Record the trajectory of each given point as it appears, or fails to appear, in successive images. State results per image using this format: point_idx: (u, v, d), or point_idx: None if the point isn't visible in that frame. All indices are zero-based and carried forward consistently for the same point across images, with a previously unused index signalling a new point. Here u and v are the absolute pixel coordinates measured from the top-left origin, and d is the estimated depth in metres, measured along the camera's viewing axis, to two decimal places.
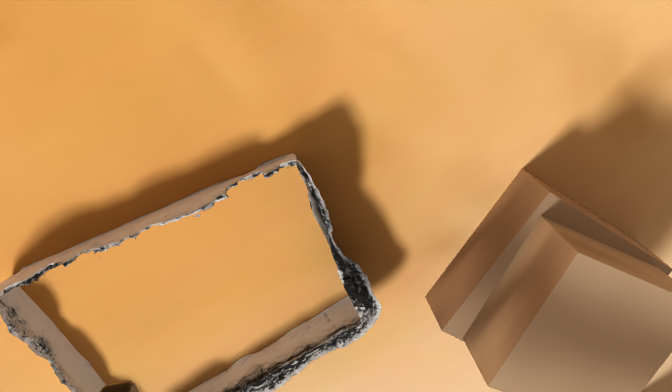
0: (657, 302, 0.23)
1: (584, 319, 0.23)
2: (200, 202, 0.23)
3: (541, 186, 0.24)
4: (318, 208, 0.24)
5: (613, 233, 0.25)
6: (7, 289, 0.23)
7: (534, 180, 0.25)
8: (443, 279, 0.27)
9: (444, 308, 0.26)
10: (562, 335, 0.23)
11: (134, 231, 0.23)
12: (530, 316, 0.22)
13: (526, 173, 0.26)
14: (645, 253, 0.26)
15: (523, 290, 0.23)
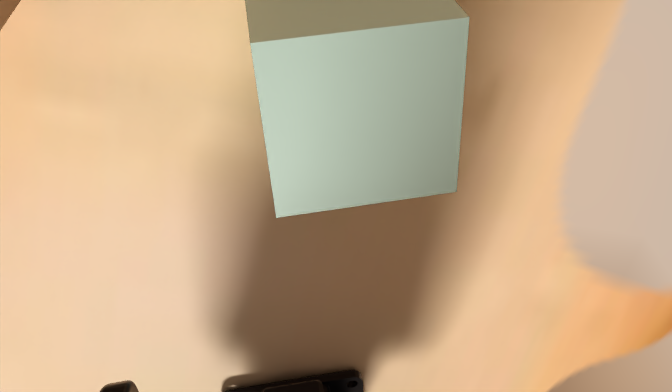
0: None
1: None
2: None
3: None
4: None
5: None
6: None
7: None
8: None
9: None
10: None
11: None
12: None
13: None
14: None
15: None
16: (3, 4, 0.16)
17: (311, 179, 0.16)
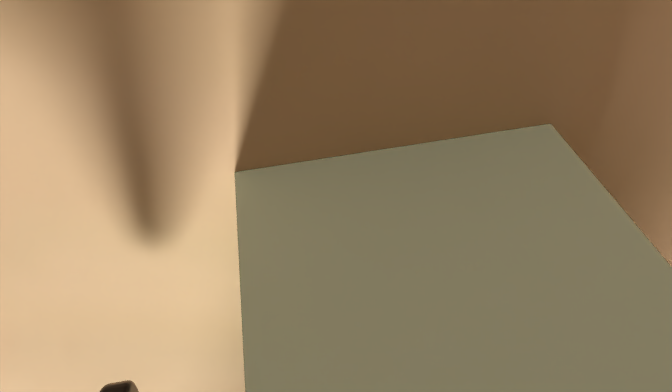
0: None
1: None
2: None
3: None
4: None
5: None
6: None
7: None
8: None
9: None
10: None
11: None
12: None
13: None
14: None
15: None
16: None
17: None
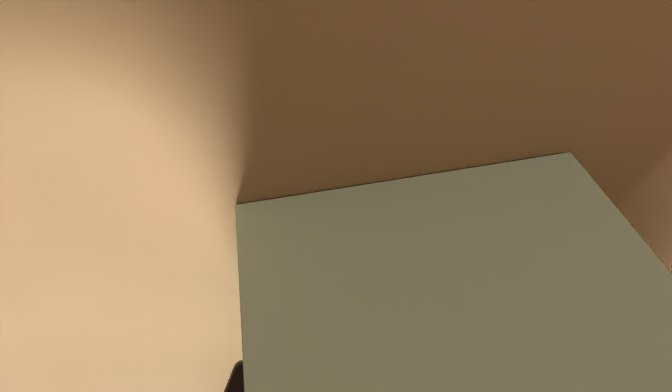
0: None
1: None
2: None
3: None
4: None
5: None
6: None
7: None
8: None
9: None
10: None
11: None
12: None
13: None
14: None
15: None
16: None
17: None
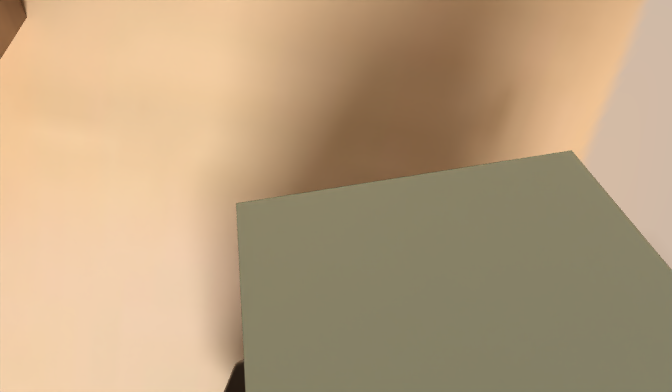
0: None
1: None
2: None
3: None
4: None
5: None
6: None
7: None
8: None
9: None
10: None
11: None
12: None
13: None
14: None
15: None
16: (5, 28, 0.15)
17: None
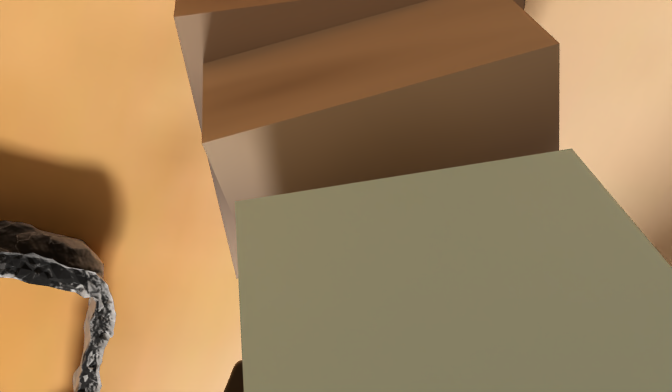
0: (446, 104, 0.11)
1: None
2: None
3: (176, 6, 0.13)
4: None
5: None
6: None
7: None
8: None
9: None
10: None
11: None
12: None
13: None
14: None
15: None
16: None
17: None
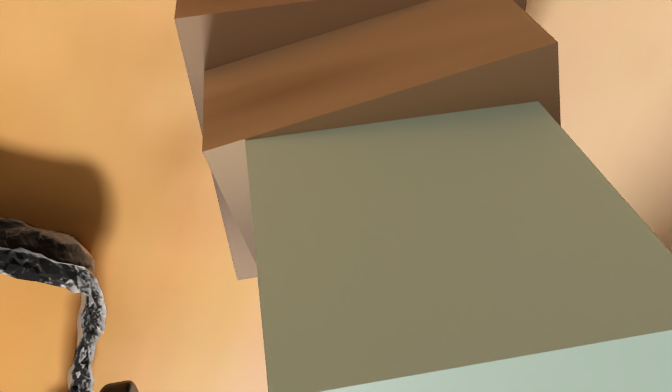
0: (445, 106, 0.11)
1: None
2: None
3: (177, 8, 0.13)
4: None
5: None
6: None
7: None
8: None
9: None
10: None
11: None
12: None
13: None
14: None
15: None
16: None
17: None
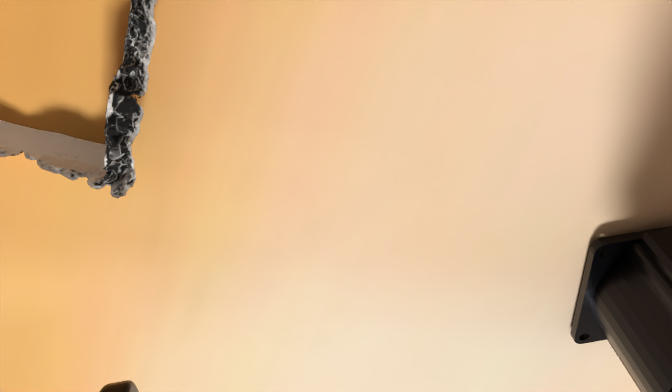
0: None
1: None
2: None
3: None
4: None
5: None
6: None
7: None
8: None
9: None
10: None
11: None
12: None
13: None
14: None
15: None
16: None
17: None
